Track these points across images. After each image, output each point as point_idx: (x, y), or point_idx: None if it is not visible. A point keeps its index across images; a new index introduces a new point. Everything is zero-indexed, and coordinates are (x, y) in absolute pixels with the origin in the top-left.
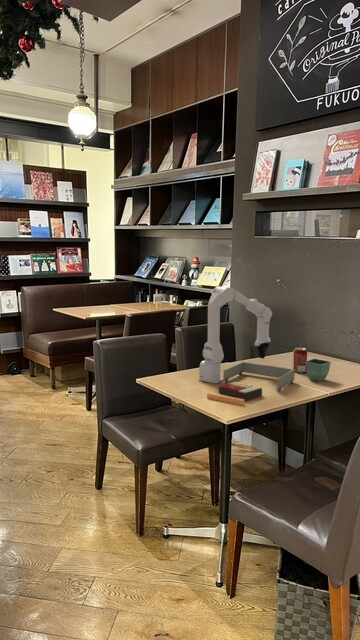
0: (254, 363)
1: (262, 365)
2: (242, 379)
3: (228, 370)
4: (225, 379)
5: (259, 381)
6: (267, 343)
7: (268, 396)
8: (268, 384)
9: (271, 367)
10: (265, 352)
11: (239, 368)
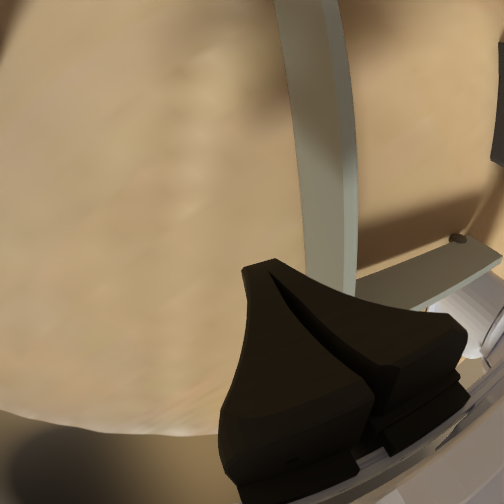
0: (345, 264)
1: (355, 174)
2: (403, 212)
3: (481, 261)
4: (468, 237)
5: (390, 116)
6: (243, 475)
7: (491, 21)
8: (404, 49)
9: (342, 75)
10: (278, 301)
11: (379, 296)
